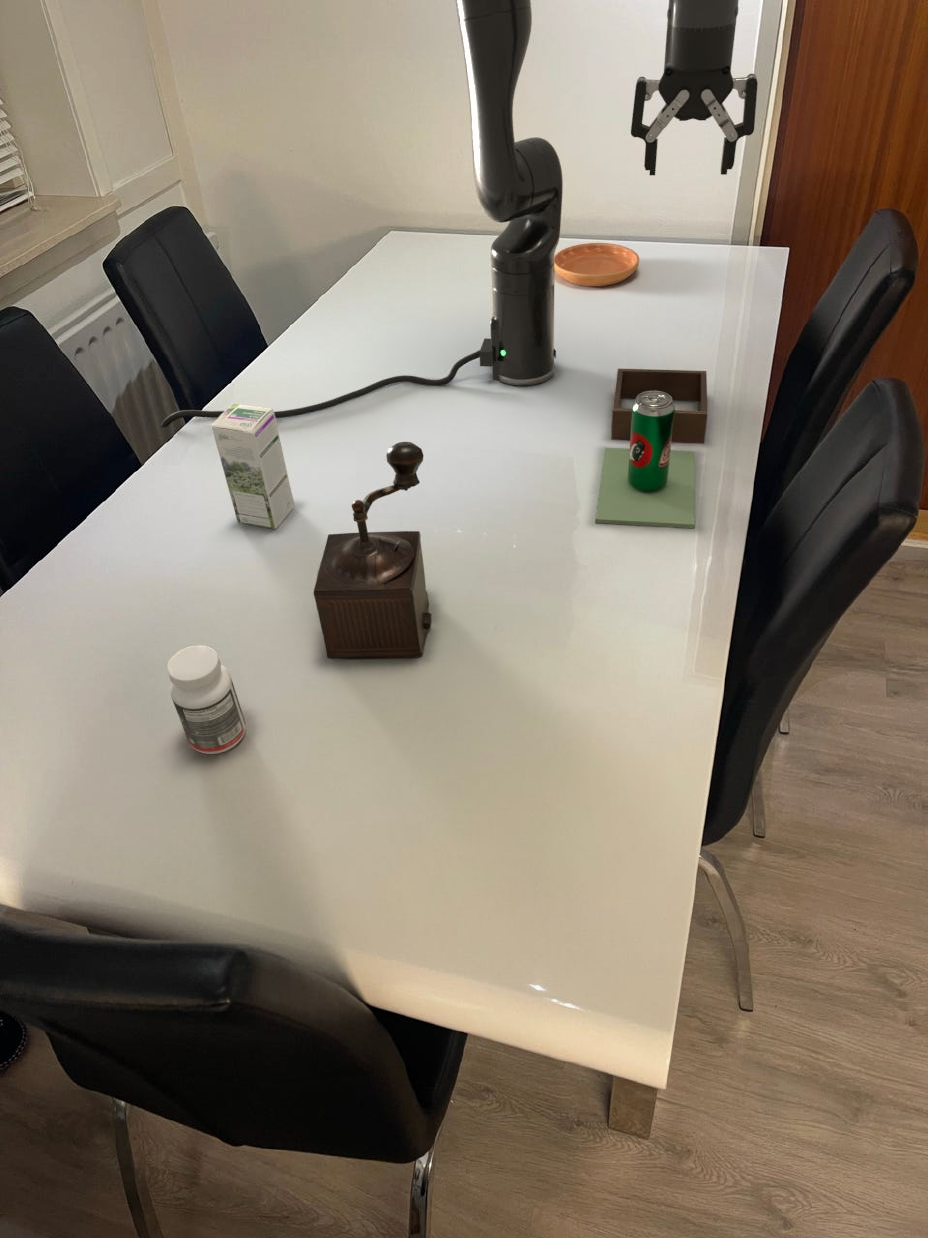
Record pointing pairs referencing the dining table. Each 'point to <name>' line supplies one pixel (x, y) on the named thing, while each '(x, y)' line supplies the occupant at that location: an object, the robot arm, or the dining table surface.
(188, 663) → the pill bottle
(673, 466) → the mat
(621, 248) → the saucer
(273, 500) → the syrup box
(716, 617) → the dining table surface
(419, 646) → the manual coffee grinder
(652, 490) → the soda can
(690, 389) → the crate
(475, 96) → the robot arm
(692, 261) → the dining table surface
